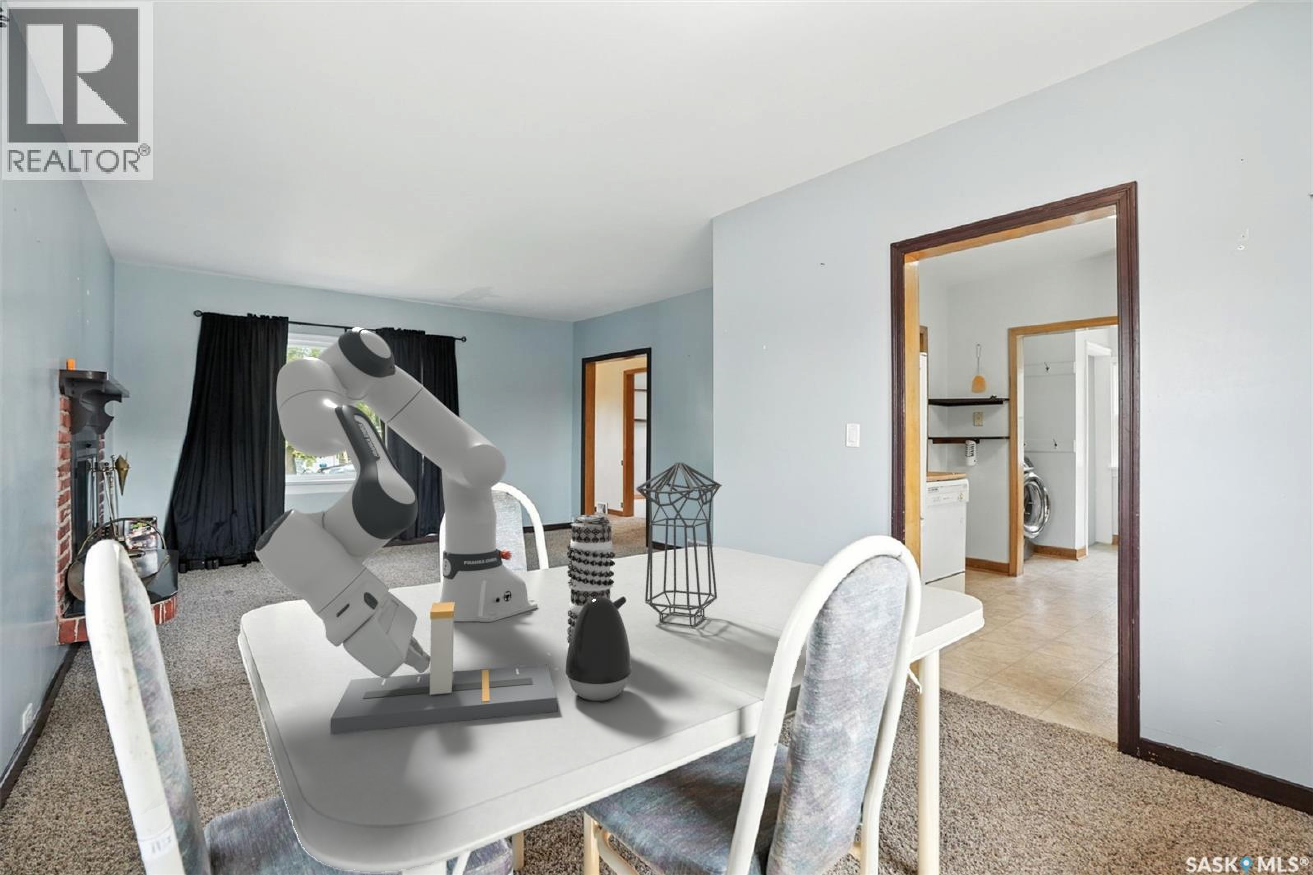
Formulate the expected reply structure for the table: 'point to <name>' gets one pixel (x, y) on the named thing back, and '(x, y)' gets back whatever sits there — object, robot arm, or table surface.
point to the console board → (444, 698)
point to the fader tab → (441, 647)
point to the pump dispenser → (599, 651)
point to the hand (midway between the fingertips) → (426, 666)
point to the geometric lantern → (667, 478)
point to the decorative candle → (589, 563)
